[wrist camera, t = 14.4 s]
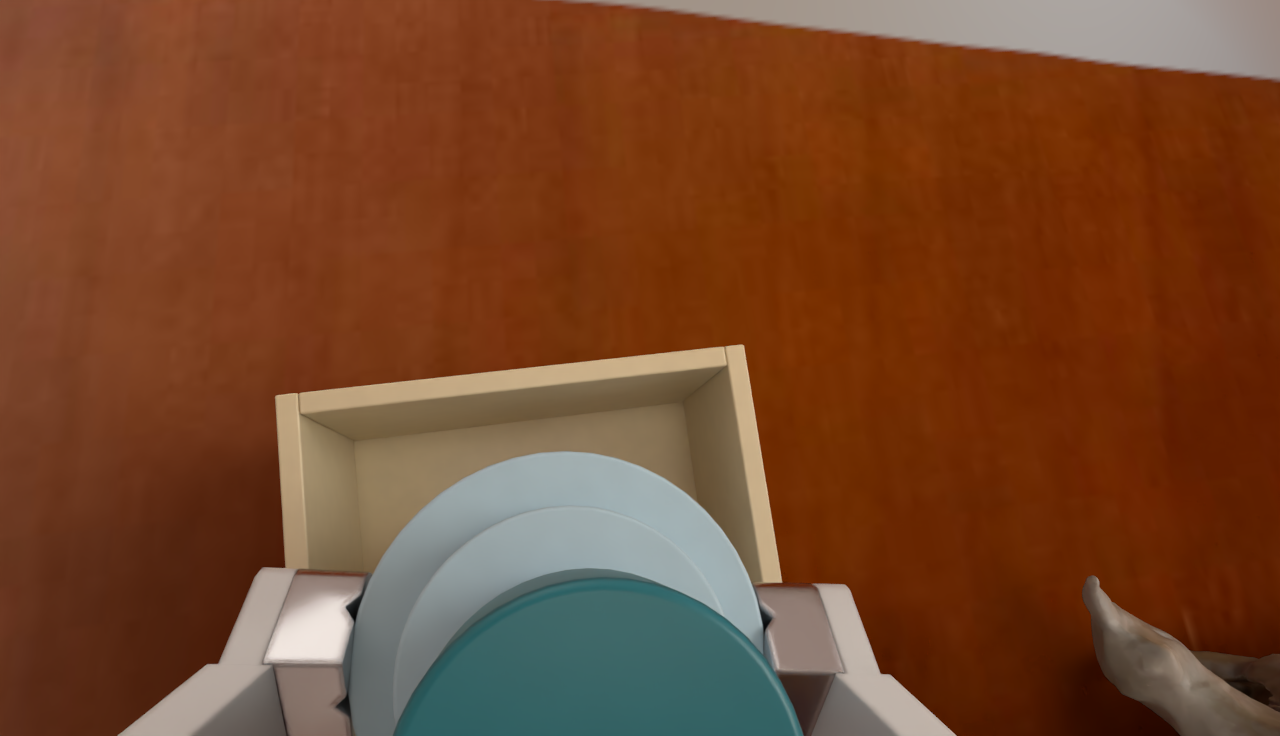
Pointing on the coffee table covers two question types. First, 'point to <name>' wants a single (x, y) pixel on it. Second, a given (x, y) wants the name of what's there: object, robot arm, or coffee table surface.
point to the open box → (518, 446)
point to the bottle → (563, 613)
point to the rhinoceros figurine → (1183, 675)
